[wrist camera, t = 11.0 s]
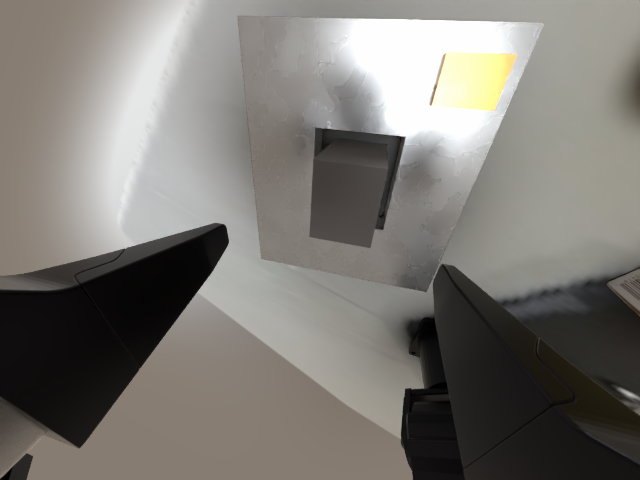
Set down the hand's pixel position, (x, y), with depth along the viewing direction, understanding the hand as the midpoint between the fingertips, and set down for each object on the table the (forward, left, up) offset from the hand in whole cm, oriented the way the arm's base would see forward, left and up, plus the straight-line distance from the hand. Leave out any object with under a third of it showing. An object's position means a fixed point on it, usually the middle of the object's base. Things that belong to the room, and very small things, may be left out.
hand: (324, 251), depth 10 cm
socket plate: (0, 0, -12) cm, 12 cm away
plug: (0, 0, -12) cm, 12 cm away
